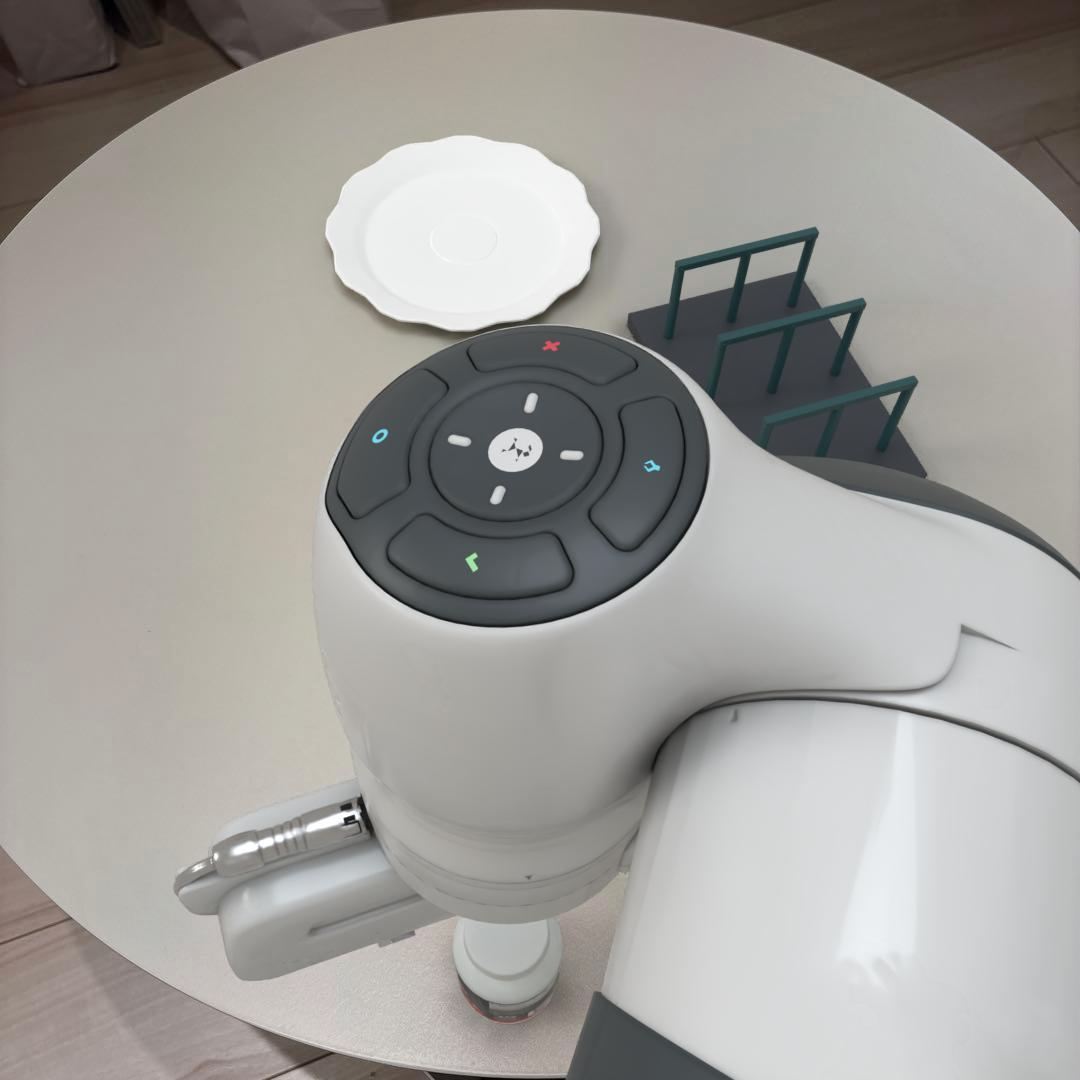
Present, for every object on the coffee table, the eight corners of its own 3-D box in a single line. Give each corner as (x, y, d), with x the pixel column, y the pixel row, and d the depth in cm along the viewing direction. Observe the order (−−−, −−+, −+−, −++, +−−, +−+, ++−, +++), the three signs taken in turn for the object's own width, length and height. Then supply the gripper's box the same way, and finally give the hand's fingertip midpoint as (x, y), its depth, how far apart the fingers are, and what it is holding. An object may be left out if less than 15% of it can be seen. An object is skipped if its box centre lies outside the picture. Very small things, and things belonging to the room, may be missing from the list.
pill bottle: (447, 936, 62) (436, 889, 54) (541, 908, 63) (546, 857, 55) (472, 1040, 59) (465, 1007, 51) (571, 1009, 60) (580, 971, 52)
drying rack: (923, 484, 78) (964, 406, 71) (737, 539, 76) (760, 465, 68) (795, 281, 88) (820, 195, 81) (626, 324, 85) (636, 239, 78)
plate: (651, 241, 90) (653, 224, 89) (462, 388, 82) (461, 373, 81) (465, 118, 97) (464, 101, 96) (275, 242, 89) (271, 226, 88)
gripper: (176, 986, 30) (266, 1055, 42) (857, 754, 34) (766, 876, 46) (139, 771, 34) (232, 891, 45) (768, 581, 38) (704, 737, 49)
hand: (506, 882), depth 46 cm, fingers open, 8 cm apart
